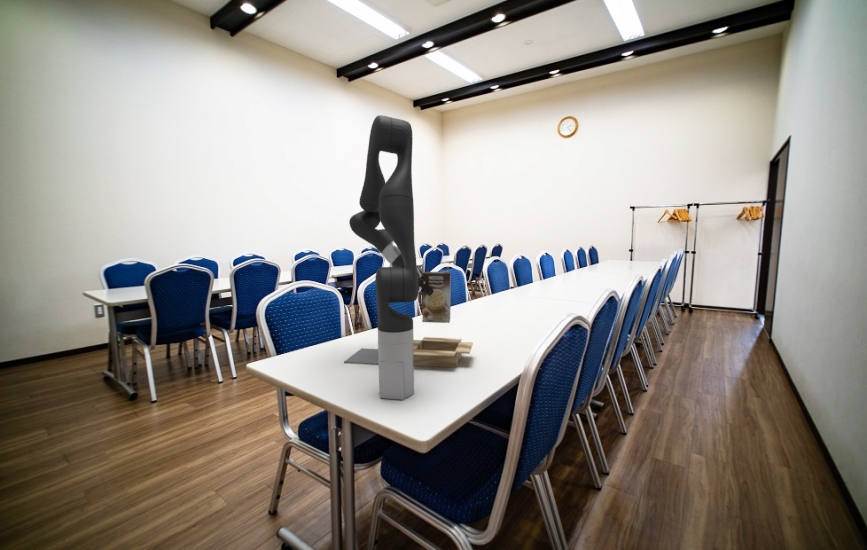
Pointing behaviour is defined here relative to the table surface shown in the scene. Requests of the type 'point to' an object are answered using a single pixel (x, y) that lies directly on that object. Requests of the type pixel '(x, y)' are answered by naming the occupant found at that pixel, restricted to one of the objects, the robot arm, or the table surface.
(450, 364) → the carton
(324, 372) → the table surface
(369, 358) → the mat
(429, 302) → the coffee box
